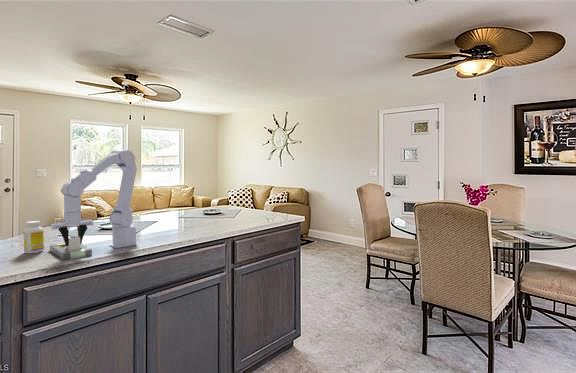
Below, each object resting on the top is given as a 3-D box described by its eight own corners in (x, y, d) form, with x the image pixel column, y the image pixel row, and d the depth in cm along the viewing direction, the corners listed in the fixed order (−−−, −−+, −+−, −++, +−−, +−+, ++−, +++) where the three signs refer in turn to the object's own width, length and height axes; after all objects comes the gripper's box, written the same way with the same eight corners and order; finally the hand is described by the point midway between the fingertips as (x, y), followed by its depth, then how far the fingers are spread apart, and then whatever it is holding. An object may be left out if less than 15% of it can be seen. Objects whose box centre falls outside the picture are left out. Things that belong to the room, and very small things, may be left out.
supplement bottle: (47, 249, 144) (46, 220, 143) (36, 253, 137) (35, 223, 136) (31, 249, 143) (30, 220, 143) (20, 253, 137) (19, 223, 136)
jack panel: (76, 246, 150) (76, 241, 149) (91, 255, 136) (91, 249, 136) (49, 250, 142) (49, 244, 142) (63, 260, 129) (63, 253, 129)
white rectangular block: (77, 251, 139) (77, 233, 139) (80, 253, 137) (80, 235, 136) (66, 253, 136) (65, 235, 136) (69, 255, 134) (68, 237, 133)
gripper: (89, 209, 143) (89, 240, 144) (48, 212, 132) (49, 245, 133) (94, 210, 138) (95, 242, 139) (53, 214, 128) (54, 248, 129)
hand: (73, 244), depth 136 cm, fingers closed on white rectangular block, 4 cm apart
